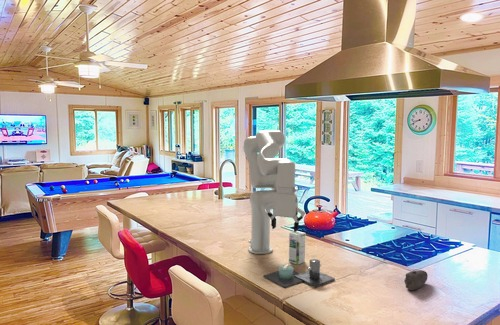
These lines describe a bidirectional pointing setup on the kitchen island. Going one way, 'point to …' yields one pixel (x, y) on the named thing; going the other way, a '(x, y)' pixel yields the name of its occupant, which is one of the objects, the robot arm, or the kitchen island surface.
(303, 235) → the syrup box
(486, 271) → the kitchen island surface
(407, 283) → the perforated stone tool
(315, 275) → the dark grey square-based fixture
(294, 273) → the pad
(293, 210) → the robot arm
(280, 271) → the cap
